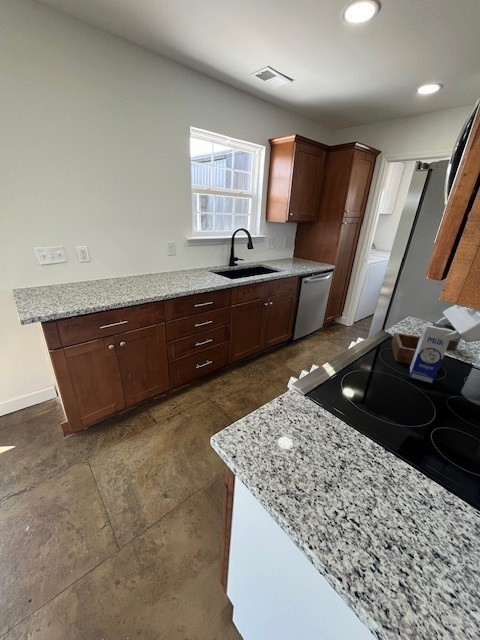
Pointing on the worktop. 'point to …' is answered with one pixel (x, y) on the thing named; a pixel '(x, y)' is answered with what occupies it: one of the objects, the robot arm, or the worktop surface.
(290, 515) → the worktop surface
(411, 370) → the milk carton
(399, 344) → the oak frame
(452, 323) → the robot arm
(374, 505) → the worktop surface
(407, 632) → the worktop surface
